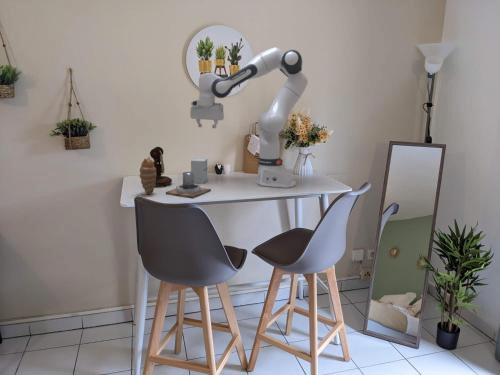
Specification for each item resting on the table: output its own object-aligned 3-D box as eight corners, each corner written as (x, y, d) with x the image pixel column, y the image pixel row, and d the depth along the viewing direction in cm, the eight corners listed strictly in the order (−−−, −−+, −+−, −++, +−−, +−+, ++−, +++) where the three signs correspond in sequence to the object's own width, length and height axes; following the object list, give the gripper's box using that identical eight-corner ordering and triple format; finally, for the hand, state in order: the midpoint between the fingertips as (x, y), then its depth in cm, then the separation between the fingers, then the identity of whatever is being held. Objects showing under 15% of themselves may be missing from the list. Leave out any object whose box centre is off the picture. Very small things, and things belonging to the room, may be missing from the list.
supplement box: (203, 183, 216) (203, 161, 213) (190, 183, 217) (190, 160, 214) (207, 180, 223) (207, 158, 220) (195, 180, 224) (195, 158, 221)
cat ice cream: (145, 191, 198) (143, 155, 194) (160, 192, 197) (158, 156, 192) (137, 195, 190) (135, 158, 185) (152, 197, 188) (151, 159, 184)
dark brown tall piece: (169, 188, 206) (167, 149, 201) (140, 187, 206) (138, 149, 201) (174, 181, 220) (173, 145, 215) (147, 181, 220) (146, 145, 215)
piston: (196, 190, 198) (196, 172, 196) (189, 192, 194) (189, 174, 191) (187, 188, 201) (186, 171, 199) (180, 191, 196) (180, 173, 194)
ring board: (210, 191, 201) (210, 185, 200) (192, 198, 187) (192, 192, 186) (184, 187, 208) (184, 181, 207) (165, 194, 194) (165, 188, 193)
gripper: (226, 103, 217) (226, 128, 220) (194, 101, 226) (195, 126, 229) (220, 103, 211) (220, 129, 215) (188, 102, 220) (189, 127, 224)
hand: (207, 127), depth 222 cm, fingers open, 8 cm apart
